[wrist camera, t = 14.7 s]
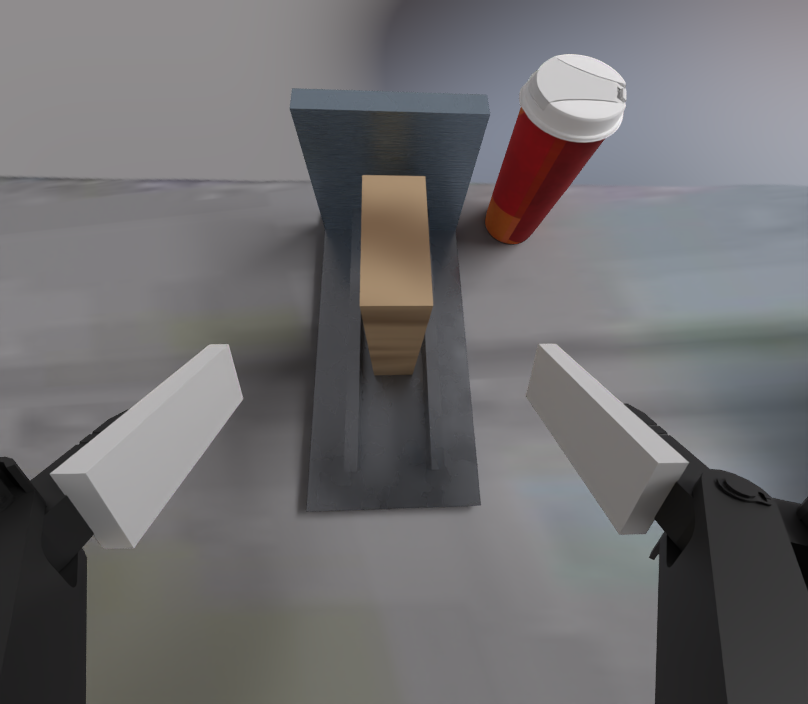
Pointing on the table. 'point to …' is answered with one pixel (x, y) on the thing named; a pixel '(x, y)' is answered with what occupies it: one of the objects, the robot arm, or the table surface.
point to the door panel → (395, 271)
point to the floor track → (341, 316)
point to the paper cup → (553, 140)
